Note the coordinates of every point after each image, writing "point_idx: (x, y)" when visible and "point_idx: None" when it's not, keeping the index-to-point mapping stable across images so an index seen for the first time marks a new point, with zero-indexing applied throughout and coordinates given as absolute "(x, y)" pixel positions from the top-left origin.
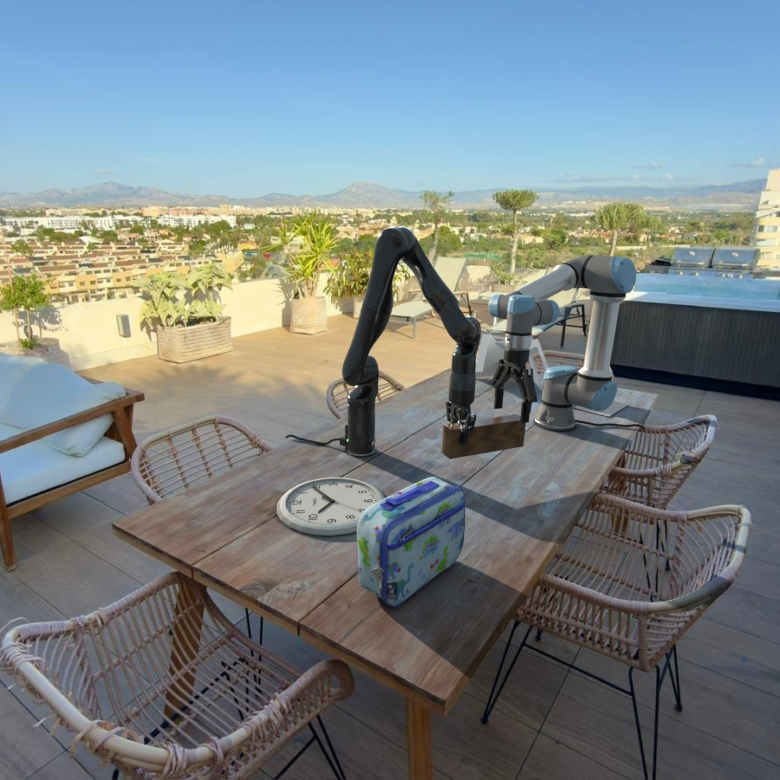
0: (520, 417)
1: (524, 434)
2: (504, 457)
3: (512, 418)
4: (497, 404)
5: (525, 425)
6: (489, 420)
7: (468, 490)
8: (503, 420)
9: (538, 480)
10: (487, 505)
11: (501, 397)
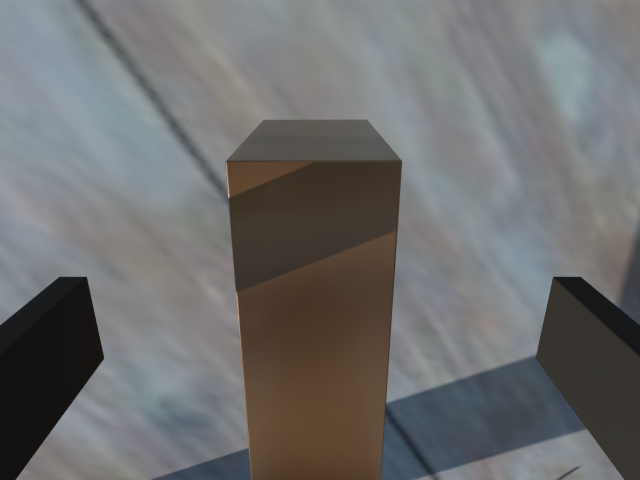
0: (565, 395)
1: (377, 134)
2: (207, 103)
3: (328, 282)
4: (74, 370)
5: (389, 148)
6: (300, 470)
7: (422, 399)
8: (341, 379)
9: (491, 103)
10: (537, 395)
11: (3, 386)
